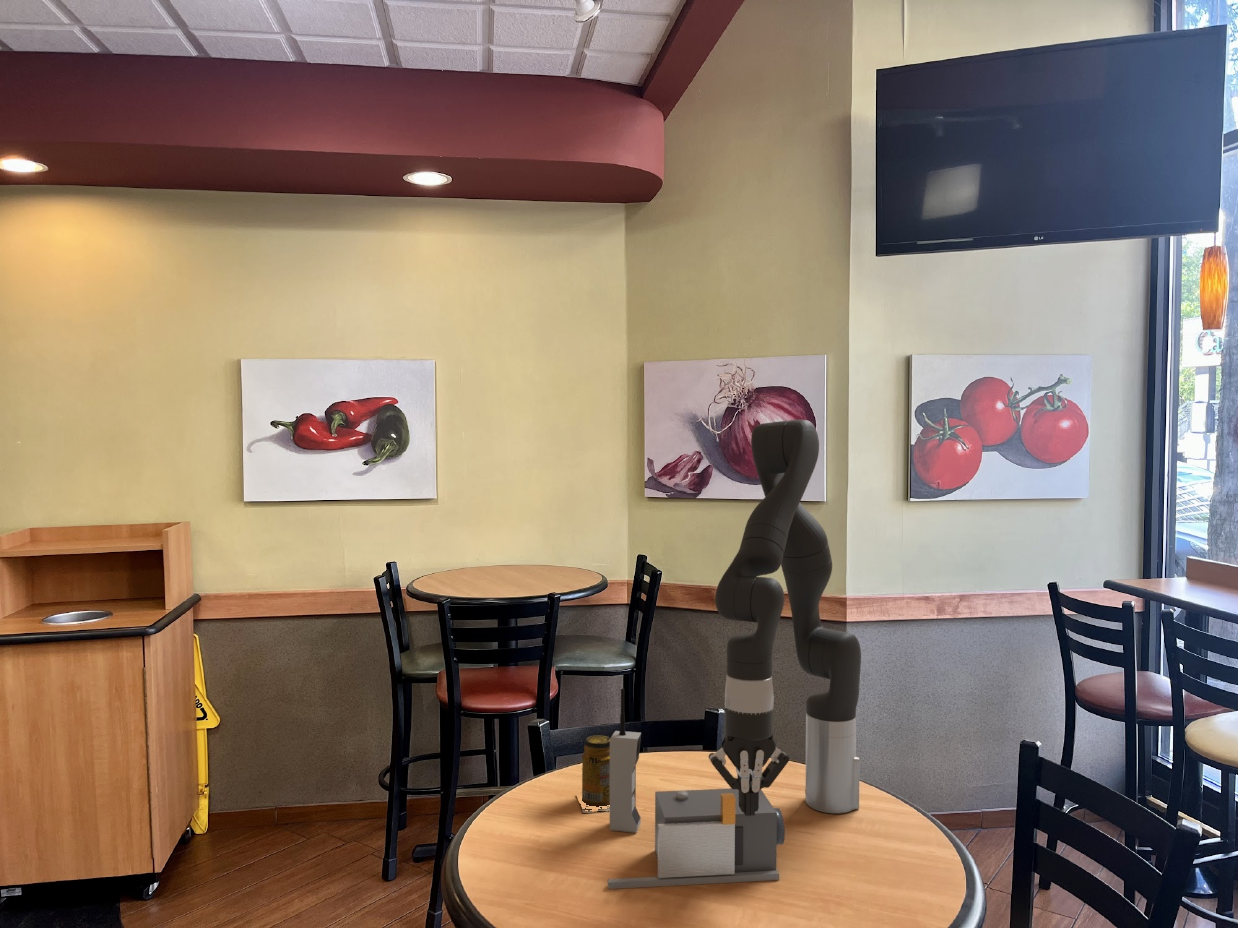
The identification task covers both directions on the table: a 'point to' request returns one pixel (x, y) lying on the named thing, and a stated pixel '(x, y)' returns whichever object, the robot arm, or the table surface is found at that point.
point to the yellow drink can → (596, 772)
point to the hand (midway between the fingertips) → (748, 813)
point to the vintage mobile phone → (624, 777)
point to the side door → (699, 845)
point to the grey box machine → (751, 836)
